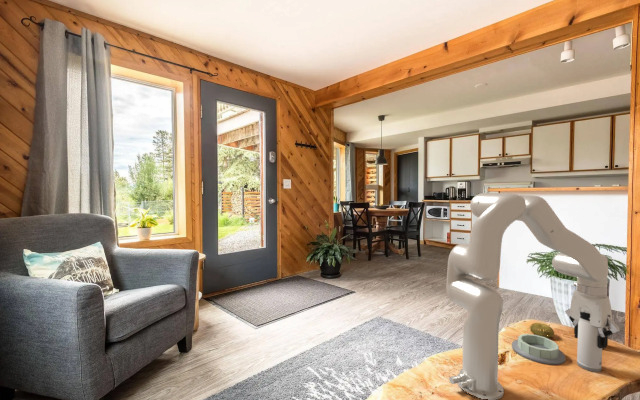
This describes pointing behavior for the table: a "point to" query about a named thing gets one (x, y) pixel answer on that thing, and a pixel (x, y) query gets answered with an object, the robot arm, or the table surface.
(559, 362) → the mug dock
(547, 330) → the sculpture
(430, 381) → the table surface
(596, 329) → the travel mug
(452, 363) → the table surface
